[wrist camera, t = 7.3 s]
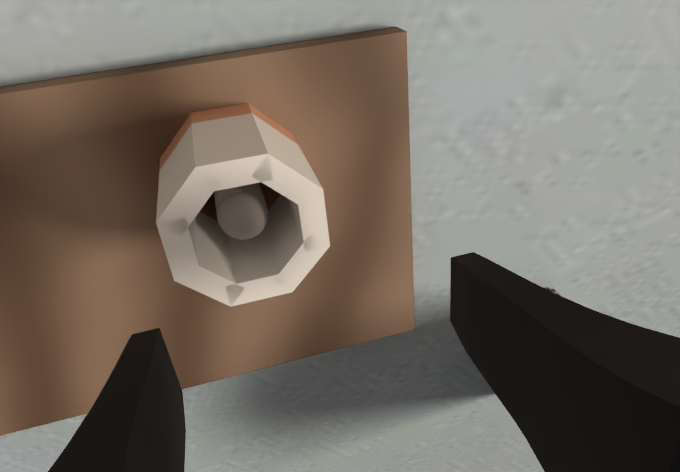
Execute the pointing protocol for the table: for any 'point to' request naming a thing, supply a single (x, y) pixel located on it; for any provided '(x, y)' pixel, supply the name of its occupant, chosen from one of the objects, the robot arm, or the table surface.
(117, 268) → the pin board
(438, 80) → the table surface
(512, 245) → the table surface
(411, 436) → the table surface
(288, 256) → the sleeve
